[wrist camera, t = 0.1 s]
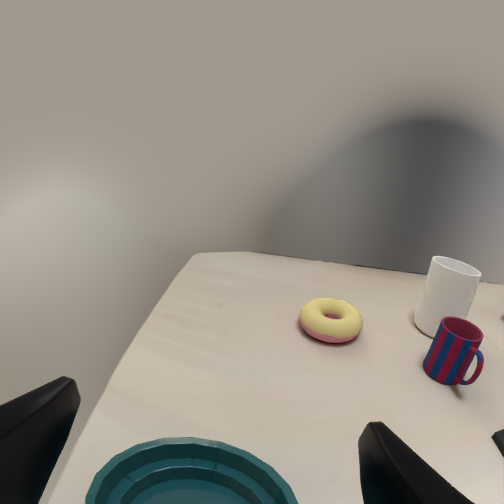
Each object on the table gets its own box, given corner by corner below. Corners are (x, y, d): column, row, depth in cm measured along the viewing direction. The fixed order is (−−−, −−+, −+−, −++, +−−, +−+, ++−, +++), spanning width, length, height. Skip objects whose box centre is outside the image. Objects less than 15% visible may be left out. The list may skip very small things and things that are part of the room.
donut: (358, 336, 44) (309, 310, 48) (371, 311, 43) (320, 285, 47) (344, 359, 36) (284, 326, 40) (360, 329, 35) (297, 296, 39)
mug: (422, 340, 40) (447, 271, 36) (401, 307, 51) (418, 248, 48) (466, 343, 39) (490, 279, 35) (440, 312, 50) (458, 256, 47)
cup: (453, 358, 35) (471, 318, 33) (476, 401, 25) (501, 356, 23) (417, 355, 36) (434, 313, 34) (436, 401, 26) (461, 354, 24)
